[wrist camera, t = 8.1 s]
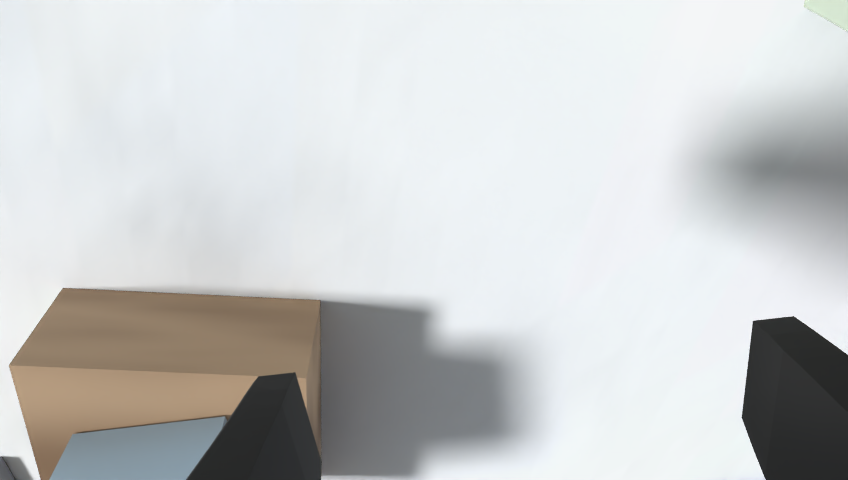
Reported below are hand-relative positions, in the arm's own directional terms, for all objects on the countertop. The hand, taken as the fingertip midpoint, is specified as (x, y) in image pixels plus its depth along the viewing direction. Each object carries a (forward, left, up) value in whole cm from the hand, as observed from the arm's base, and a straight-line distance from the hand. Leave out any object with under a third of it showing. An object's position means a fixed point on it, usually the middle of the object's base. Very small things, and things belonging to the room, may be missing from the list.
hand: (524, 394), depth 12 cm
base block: (-8, +10, -11) cm, 17 cm away
